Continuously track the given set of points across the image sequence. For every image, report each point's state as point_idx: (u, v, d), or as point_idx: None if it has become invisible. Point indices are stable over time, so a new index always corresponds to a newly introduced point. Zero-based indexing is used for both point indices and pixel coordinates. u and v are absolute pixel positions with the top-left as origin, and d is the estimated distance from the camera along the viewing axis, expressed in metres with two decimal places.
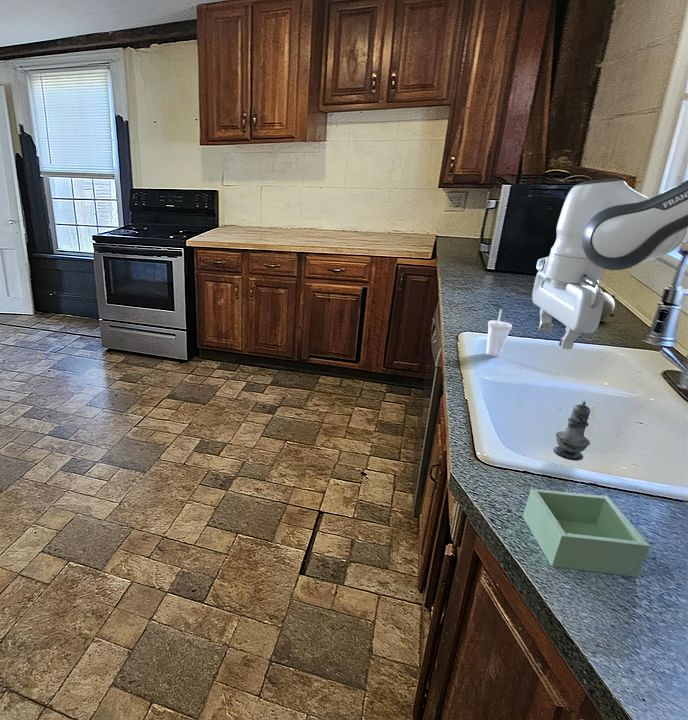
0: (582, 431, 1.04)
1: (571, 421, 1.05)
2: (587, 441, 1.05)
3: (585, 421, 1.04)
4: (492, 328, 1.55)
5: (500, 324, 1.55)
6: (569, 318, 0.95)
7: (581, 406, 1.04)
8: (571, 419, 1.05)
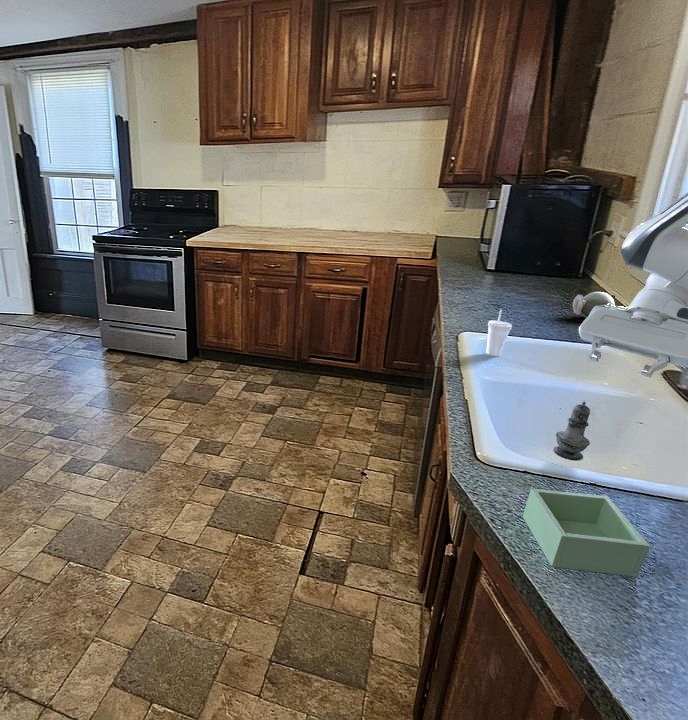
0: (582, 431, 1.04)
1: (571, 421, 1.05)
2: (587, 441, 1.05)
3: (585, 421, 1.04)
4: (492, 328, 1.55)
5: (500, 324, 1.55)
6: None
7: (581, 406, 1.04)
8: (571, 419, 1.05)
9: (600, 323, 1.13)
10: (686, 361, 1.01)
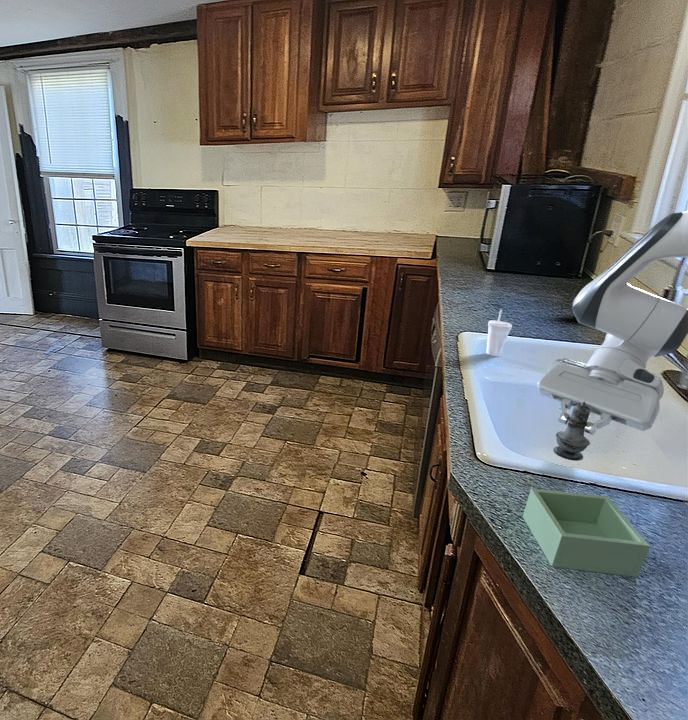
0: (582, 431, 1.04)
1: (571, 421, 1.05)
2: (587, 441, 1.05)
3: (585, 421, 1.04)
4: (492, 328, 1.55)
5: (500, 324, 1.55)
6: None
7: (581, 406, 1.04)
8: (571, 419, 1.05)
9: (558, 380, 1.10)
10: (642, 425, 0.98)
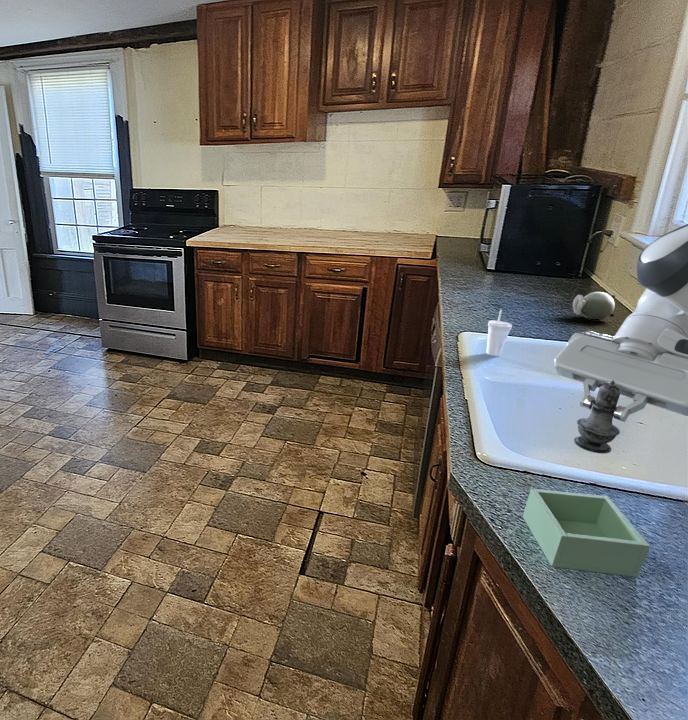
0: (610, 417, 0.85)
1: (596, 405, 0.86)
2: (616, 429, 0.86)
3: (614, 405, 0.84)
4: (492, 328, 1.55)
5: (500, 324, 1.55)
6: None
7: (609, 386, 0.84)
8: (596, 402, 0.86)
9: (580, 356, 0.91)
10: (687, 409, 0.79)
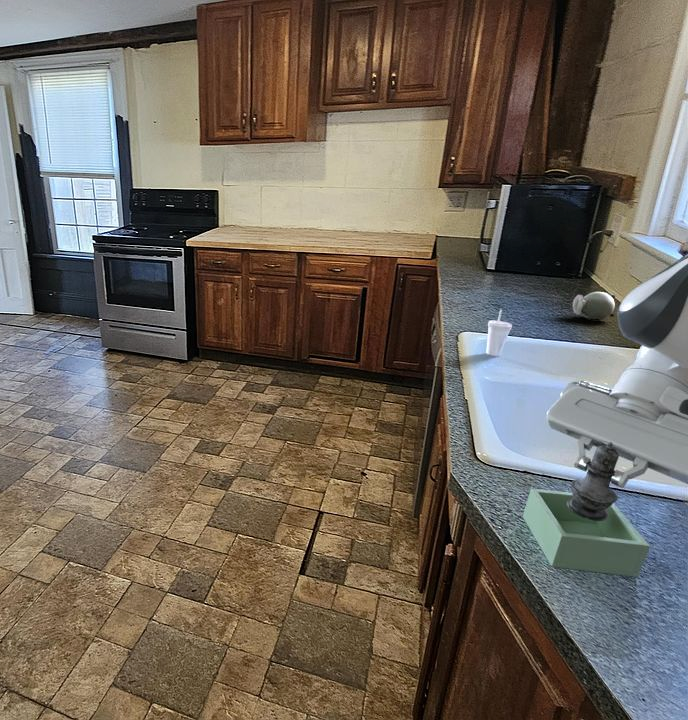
0: (607, 482, 0.77)
1: (592, 468, 0.78)
2: (614, 495, 0.78)
3: (612, 469, 0.76)
4: (492, 328, 1.55)
5: (500, 324, 1.55)
6: None
7: (606, 449, 0.76)
8: (592, 465, 0.78)
9: (575, 411, 0.83)
10: None
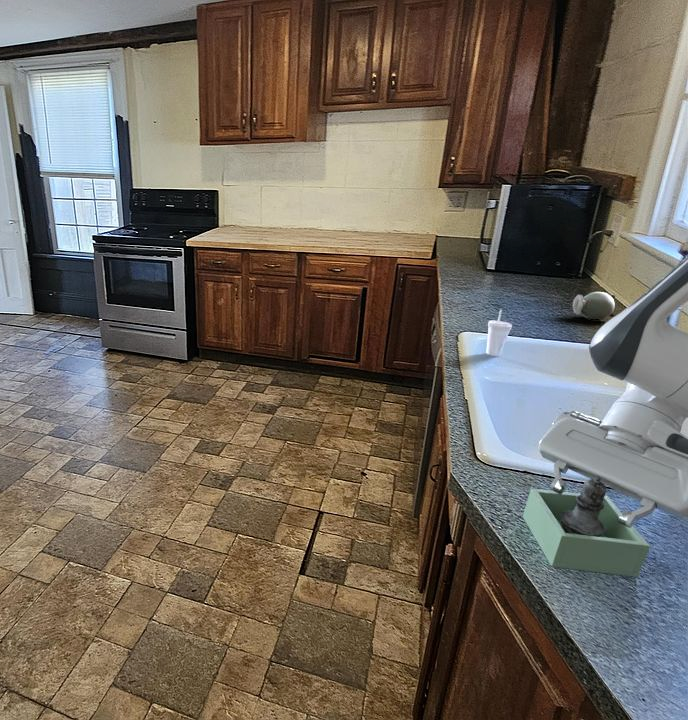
0: (595, 515, 0.79)
1: (581, 501, 0.80)
2: (602, 527, 0.80)
3: (600, 503, 0.79)
4: (492, 328, 1.55)
5: (500, 324, 1.55)
6: None
7: (594, 483, 0.79)
8: (581, 498, 0.80)
9: (565, 441, 0.85)
10: (679, 512, 0.73)
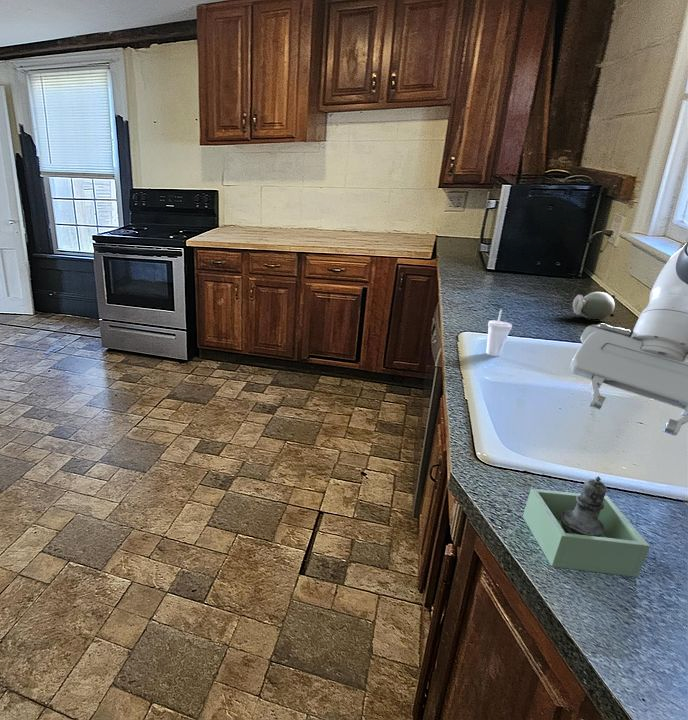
0: (596, 515, 0.79)
1: (581, 501, 0.80)
2: (602, 527, 0.80)
3: (600, 502, 0.79)
4: (492, 328, 1.55)
5: (500, 324, 1.55)
6: None
7: (594, 483, 0.79)
8: (581, 498, 0.80)
9: (601, 356, 0.83)
10: None
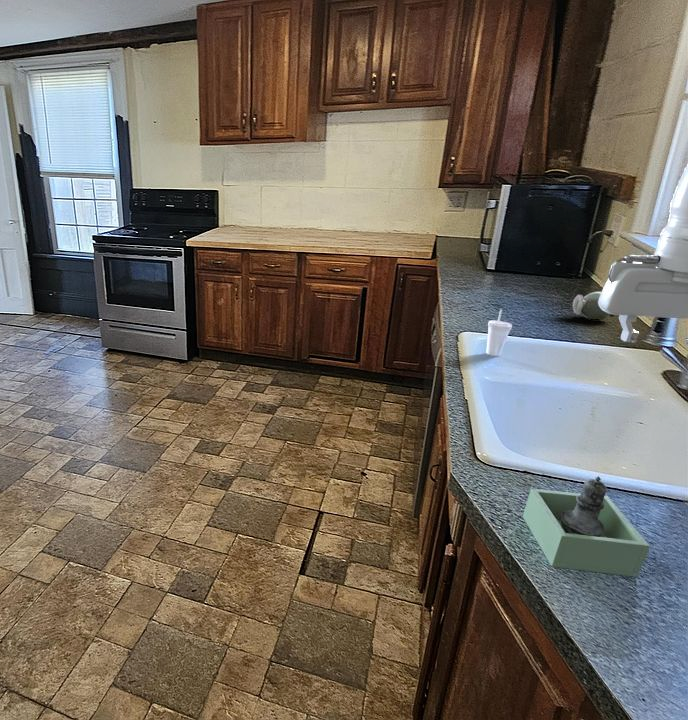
0: (596, 515, 0.79)
1: (581, 501, 0.80)
2: (602, 527, 0.80)
3: (600, 502, 0.79)
4: (492, 328, 1.55)
5: (500, 324, 1.55)
6: None
7: (594, 483, 0.79)
8: (581, 498, 0.80)
9: (635, 297, 0.81)
10: None
